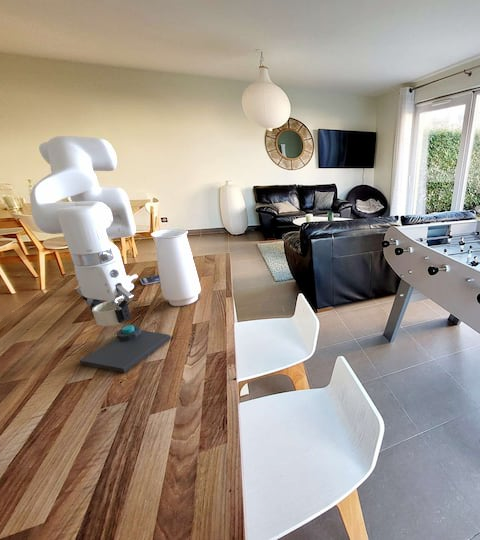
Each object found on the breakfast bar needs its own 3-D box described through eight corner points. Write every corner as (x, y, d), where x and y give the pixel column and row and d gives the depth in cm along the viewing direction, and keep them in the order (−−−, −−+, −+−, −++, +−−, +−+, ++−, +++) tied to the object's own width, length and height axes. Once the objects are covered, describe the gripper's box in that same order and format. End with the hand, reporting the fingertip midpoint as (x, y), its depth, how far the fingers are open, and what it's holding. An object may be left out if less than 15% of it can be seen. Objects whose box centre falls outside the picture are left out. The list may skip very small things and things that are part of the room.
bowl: (114, 312, 82) (110, 298, 80) (135, 315, 81) (131, 301, 79) (90, 325, 75) (84, 310, 74) (112, 329, 74) (107, 314, 73)
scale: (131, 332, 94) (129, 324, 93) (170, 338, 92) (168, 330, 91) (79, 364, 80) (76, 355, 78) (124, 372, 78) (121, 363, 76)
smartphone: (139, 278, 130) (177, 271, 139) (139, 279, 130) (177, 272, 140) (142, 284, 125) (181, 276, 134) (143, 285, 125) (181, 277, 135)
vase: (207, 293, 121) (196, 229, 111) (192, 308, 109) (178, 238, 99) (176, 292, 121) (162, 227, 110) (157, 307, 109) (139, 236, 98)
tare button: (129, 328, 92) (127, 324, 91) (137, 329, 91) (136, 325, 91) (120, 333, 89) (119, 329, 88) (128, 335, 88) (127, 330, 88)
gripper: (137, 256, 73) (152, 315, 80) (79, 249, 76) (99, 308, 82) (108, 266, 66) (128, 330, 73) (46, 258, 69) (71, 321, 76)
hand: (112, 318), depth 78 cm, fingers closed on bowl, 6 cm apart
